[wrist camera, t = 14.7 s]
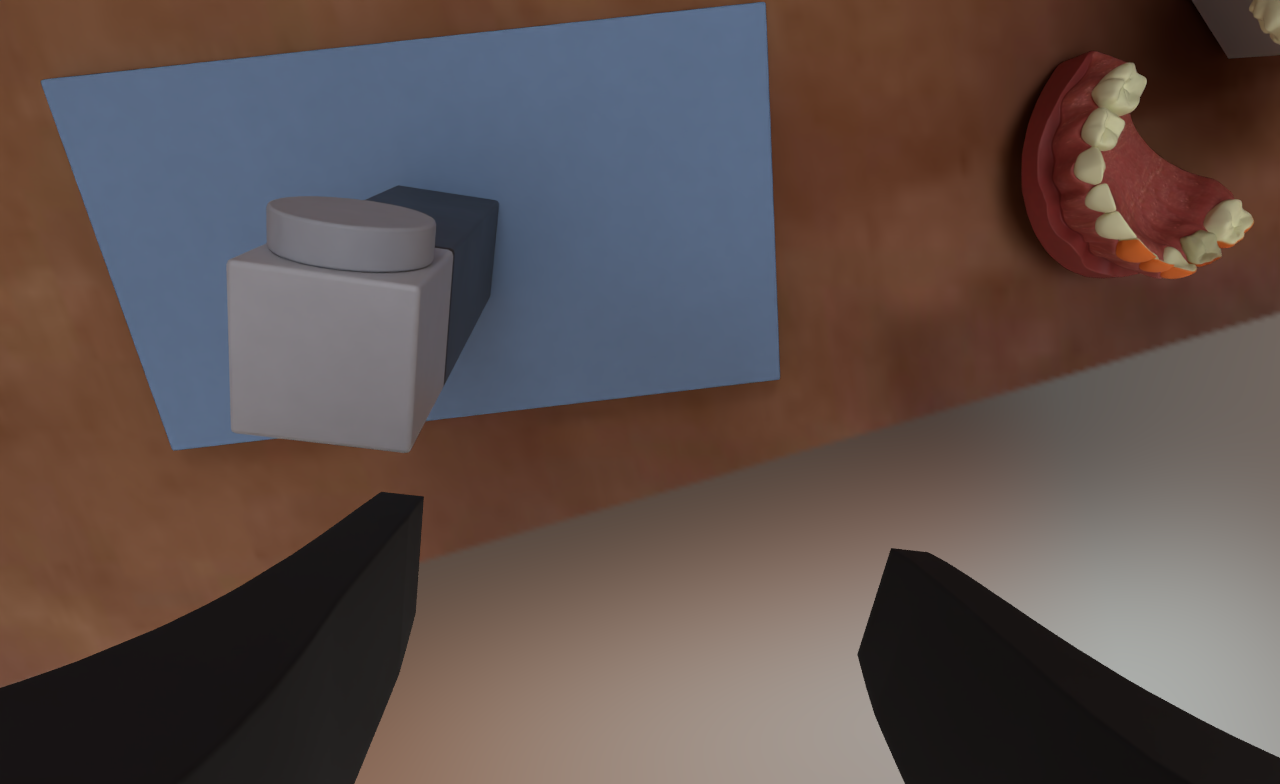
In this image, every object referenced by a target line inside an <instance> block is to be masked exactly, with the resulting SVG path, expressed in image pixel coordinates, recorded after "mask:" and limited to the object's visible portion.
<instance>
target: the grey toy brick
mask: <svg viewBox="0 0 1280 784" xmlns="http://www.w3.org/2000/svg"><path fill="white" fill-rule="evenodd" d="M498 210H499V202H498V201H496V200H491V199H484V198H478V197H471V196H465V195H458V194H452V193H445V192H439V191H432V190H426V189H419V188H413V187H406V186H400V185H398V186H395V187H393V188H391V189H388V190H386V191H384V192H382V193H379V194H377V195H375V196H372V197H370V198H368V199H366V200H358V199H349V198H338V197H320V196H298V197H285V198H279V199H275V200H272V201H270V202H269V203H268V204H267V207H266V228H267V243H266V244H264V245H261V246H259V247H257V248H255V249H252V250H250V251H248V252H245V253H243V254H241V255H239V256H236V257H234V258H232V259H230V260H228V262H227V264H226V271H227V307H228V343H229V379H230V415H231V430H232V432H234V433H238V434H246V435H255V436H264V437H272V438H281V439H290V440H298V441H307V442H315V443H324V444H333V445H341V446H350V447H358V448H367V449H376V450H384V451H393V452H401V453H406V452H410V450H411V448H412V446H413V445H414V443H415V441H416V439H417V437H418V435H419V433H420V431H421V429H422V427H423V425H424V423H425V421H426V419H427V417H428V415H429V414H430V412H431V410H432V408H433V406H434V404H435V402H436V400H437V398H438V396H439V394H440V392H441V390H442V388H443V387H444V385H445V383H446V381H447V379H448V377H449V375H450V373H451V371H452V370H453V368H454V366H455V364H456V362H457V360H458V358H459V356H460V354H461V352H462V350H463V348H464V346H465V344H466V342H467V340H468V339H469V337H470V335H471V333H472V331H473V329H474V327H475V325H476V323H477V321H478V319H479V317H480V315H481V313H482V311H483V309H484V308H485V306H486V304H487V302H488V300H489V298H490V295H491V284H492V273H493V263H494V252H495V242H496V231H497V220H498Z"/></svg>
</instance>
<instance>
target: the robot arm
mask: <svg viewBox="0 0 1280 784" xmlns="http://www.w3.org/2000/svg"><path fill="white" fill-rule="evenodd" d="M423 500H424V497H422V496H413V495H404V494H395V493H386V492H381V493H379V494H378V495H376V496H375V497H373V498H372V499H370V500H369V501H368V502H366V503H365V504H363V505H362V506H361V507H359V508H358V509H356V510H355V511H354V512H352V513H351V514H349V515H348V516H347V517H345V518H344V519H343V520H341V521H340V522H338V523H337V524H336V525H334V526H333V527H331V528H330V529H329V530H327V531H326V532H325V533H323V534H322V535H320V536H319V537H317V538H316V539H314V540H313V541H311V542H310V543H309V544H307V545H306V546H304V547H303V548H301V549H300V550H298V551H297V552H295V553H294V554H292V555H291V556H289V557H287V558H286V559H284V560H283V561H281V562H279V563H278V564H276V565H274V566H273V567H271V568H270V569H268V570H266V571H265V572H263V573H261V574H260V575H258V576H256V577H255V578H253V579H252V580H250V581H248V582H247V583H245V584H243V585H242V586H240V587H238V588H236V589H235V590H233V591H231V592H229V593H227V594H226V595H224V596H222V597H220V598H218V599H216V600H214V601H212V602H211V603H209V604H207V605H205V606H203V607H201V608H199V609H197V610H195V611H193V612H191V613H188V614H186V615H184V616H182V617H180V618H178V619H176V620H174V621H172V622H170V623H168V624H166V625H164V626H161V627H159V628H157V629H155V630H153V631H150V632H148V633H145V634H143V635H140V636H138V637H135V638H133V639H131V640H128V641H126V642H123V643H121V644H118V645H116V646H113V647H111V648H109V649H106V650H104V651H101V652H99V653H96V654H94V655H92V656H89V657H87V658H84V659H82V660H79V661H77V662H74V663H71V664H69V665H66V666H63V667H61V668H58V669H55V670H52V671H49V672H46V673H43V674H40V675H38V676H35V677H32V678H29V679H26V680H23V681H20V682H17V683H14V684H11V685H8V686H5V687H2V688H0V784H354V783H355V780H356V778H357V776H358V773H359V771H360V768H361V766H362V764H363V761H364V759H365V756H366V754H367V751H368V749H369V747H370V744H371V742H372V739H373V737H374V734H375V732H376V729H377V727H378V725H379V722H380V720H381V717H382V715H383V712H384V710H385V707H386V705H387V703H388V700H389V698H390V695H391V693H392V690H393V687H394V685H395V682H396V680H397V678H398V675H399V672H400V669H401V665H402V661H403V658H404V654H405V651H406V647H407V643H408V640H409V635H410V632H411V628H412V625H413V621H414V617H415V613H416V599H417V585H418V571H419V557H420V542H421V528H422V514H423ZM858 658H859V662H860V666H861V669H862V673H863V677H864V681H865V684H866V688H867V691H868V695H869V698H870V701H871V704H872V707H873V711H874V714H875V716H876V719H877V721H878V724H879V726H880V728H881V731H882V733H883V735H884V737H885V740H886V742H887V744H888V747H889V749H890V751H891V753H892V756H893V758H894V760H895V763H896V765H897V767H898V769H899V771H900V774H901V776H902V778H903V780H904V782H905V784H1280V758H1279V757H1277V756H1275V755H1273V754H1270V753H1268V752H1266V751H1264V750H1262V749H1260V748H1258V747H1255V746H1253V745H1251V744H1249V743H1247V742H1245V741H1242V740H1240V739H1238V738H1236V737H1234V736H1232V735H1230V734H1228V733H1226V732H1224V731H1222V730H1220V729H1218V728H1216V727H1214V726H1212V725H1210V724H1208V723H1206V722H1204V721H1202V720H1200V719H1198V718H1196V717H1195V716H1193V715H1191V714H1189V713H1187V712H1185V711H1183V710H1181V709H1180V708H1178V707H1176V706H1174V705H1172V704H1170V703H1169V702H1167V701H1165V700H1163V699H1161V698H1159V697H1158V696H1156V695H1154V694H1152V693H1150V692H1148V691H1146V690H1145V689H1143V688H1141V687H1139V686H1138V685H1136V684H1134V683H1133V682H1131V681H1129V680H1127V679H1126V678H1124V677H1122V676H1121V675H1119V674H1117V673H1116V672H1114V671H1112V670H1111V669H1109V668H1108V667H1106V666H1104V665H1103V664H1101V663H1100V662H1098V661H1096V660H1095V659H1093V658H1091V657H1090V656H1088V655H1087V654H1085V653H1083V652H1082V651H1080V650H1078V649H1077V648H1075V647H1074V646H1072V645H1071V644H1069V643H1068V642H1066V641H1064V640H1063V639H1062V638H1060V637H1058V636H1057V635H1055V634H1054V633H1052V632H1051V631H1049V630H1048V629H1046V628H1045V627H1043V626H1042V625H1040V624H1039V623H1037V622H1036V621H1034V620H1033V619H1031V618H1030V617H1028V616H1027V615H1025V614H1024V613H1022V612H1021V611H1019V610H1018V609H1017V608H1015V607H1013V606H1012V605H1011V604H1009V603H1008V602H1006V601H1005V600H1003V599H1002V598H1000V597H999V596H997V595H996V594H994V593H993V592H991V591H990V590H988V589H987V588H986V587H984V586H982V585H981V584H980V583H978V582H977V581H975V580H974V579H972V578H970V577H969V576H967V575H966V574H964V573H963V572H961V571H960V570H958V569H957V568H955V567H953V566H952V565H950V564H948V563H947V562H945V561H943V560H942V559H940V558H938V557H936V556H934V555H932V554H930V553H928V552H920V551H911V550H902V549H893V548H891V551H890V553H889V557H888V560H887V563H886V566H885V569H884V572H883V575H882V579H881V582H880V585H879V588H878V592H877V594H876V598H875V601H874V604H873V607H872V610H871V613H870V617H869V620H868V623H867V626H866V629H865V632H864V636H863V639H862V642H861V645H860V648H859V651H858Z"/></svg>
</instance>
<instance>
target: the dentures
mask: <svg viewBox="0 0 1280 784" xmlns="http://www.w3.org/2000/svg"><path fill="white" fill-rule="evenodd" d="M1249 11H1250V12H1252V13H1253V16H1254V17H1255V18H1256V19H1258V21H1259V24H1260V28H1261V30H1262V31H1263V32H1264V33H1270V38H1271V39H1272V40H1273V41H1274V42H1275V43H1277V44H1279V45H1280V0H1253V1H1252V3H1251V5H1250V7H1249ZM1146 83H1147V79H1146V78H1145V77H1144V76H1142V75H1140V74H1138V72H1137V70H1136V68H1135V64H1134V63H1131V62H1129V63H1127V62H1125V61H1122V60H1120V59H1117V58H1114V57H1112V56H1109V55H1106V54H1103V53H1100V52H1097V51H1089V52H1087V53H1084V54H1082V55H1079V56H1077V57H1074V58H1072V59H1069V60H1067V61H1065V62H1062V63H1060V64H1059V65H1058V66H1057V67H1056V69H1055V70H1054V72H1053V73H1052V75H1051V77H1050V78H1049V80H1048V81H1047V83H1046V85H1045V87H1044V88H1043V90H1042V92H1041V94H1040V96H1039V98H1038V100H1037V102H1036V104H1035V107H1034V110H1033V112H1032V115H1031V118H1030V120H1029V123H1028V127H1027V131H1026V136H1025V141H1024V146H1023V152H1022V173H1021V180H1022V194H1023V198H1024V203H1025V208H1026V212H1027V215H1028V217H1029V220H1030V223H1031V226H1032V228H1033V231H1034V233H1035V235H1036V236H1037V238H1038V240H1039V241H1040V243H1041V244H1042V246H1043V247H1044V249H1045V250H1046V251H1047V252H1048V254H1049V255H1050V256H1051V257H1052V258H1053V259H1055V260H1056V261H1057V262H1058V263H1059V264H1061V265H1062V266H1063V267H1065V268H1066V269H1068V270H1070V271H1072V272H1075V273H1077V274H1080V275H1082V276H1085V277H1092V278H1113V277H1125V276H1130V275H1135V274H1140V273H1141V274H1144V275H1146V276H1149V277H1153V278H1167V279H1177V278H1182V277H1185V276H1188V275H1191V274H1193V273H1195V272H1196V270H1197V268H1196V267H1200V266H1204V265H1208V264H1211V263H1212V262H1213V261H1215V260H1217V259H1220V258H1221V257H1222V254H1221V249H1220V248H1228V247H1232V246H1234V245H1235V244H1236V243H1237V242H1239V241H1241V240H1242V239H1243V238H1244V233H1245V232H1247V231H1248V230H1249V229H1250V228H1251V227H1252V226H1253V224H1254V220H1253V218H1252V216H1251V214H1250V213H1248V212H1247V211H1245V210H1243V209H1242V202H1241V201H1240V200H1238V199H1234V197H1233V194H1232V193H1231V192H1230V191H1229V190H1228V189H1227V188H1226V187H1224V186H1223V185H1222V184H1221V183H1219V182H1218V181H1216V180H1214V179H1211V178H1207V177H1202V176H1199V175H1195V174H1192V173H1189V172H1187V171H1185V170H1182V169H1180V168H1178V167H1176V166H1174V165H1172V164H1171V163H1169V162H1167V161H1166V160H1164V159H1163V158H1161V157H1160V156H1159V155H1157V154H1156V153H1155V152H1154V151H1153V150H1152V149H1151V148H1150V147H1149V146H1148V145H1147V144H1146V142H1145V141H1144V140H1143V139H1142V137H1141V136H1140V135H1139V133H1138V132H1137V130H1136V128H1135V126H1134V124H1133V122H1132V119H1131V115H1130V112H1132V111H1133V110H1134V109H1135V108H1136V107H1137V106H1138V104H1139V102H1140V96H1141V94H1142V92H1143V90H1144V88H1145V86H1146Z"/></svg>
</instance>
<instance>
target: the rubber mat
mask: <svg viewBox="0 0 1280 784" xmlns="http://www.w3.org/2000/svg"><path fill="white" fill-rule="evenodd" d="M41 84H42V87H43V90H44V93H45V96H46V98H47V101H48V104H49V107H50V110H51V112H52V115H53V118H54V121H55V123H56V126H57V129H58V132H59V135H60V137H61V140H62V143H63V146H64V149H65V151H66V154H67V157H68V160H69V163H70V165H71V168H72V171H73V174H74V177H75V179H76V182H77V185H78V188H79V191H80V193H81V196H82V199H83V202H84V205H85V207H86V210H87V213H88V216H89V219H90V221H91V224H92V227H93V230H94V232H95V235H96V238H97V241H98V244H99V246H100V249H101V252H102V255H103V258H104V260H105V263H106V266H107V269H108V272H109V274H110V277H111V280H112V283H113V286H114V288H115V291H116V294H117V297H118V300H119V302H120V305H121V308H122V311H123V314H124V316H125V319H126V322H127V325H128V328H129V330H130V333H131V336H132V339H133V341H134V344H135V347H136V350H137V353H138V355H139V358H140V361H141V364H142V367H143V369H144V372H145V375H146V378H147V381H148V383H149V386H150V389H151V392H152V395H153V397H154V400H155V403H156V406H157V409H158V411H159V414H160V417H161V420H162V423H163V425H164V428H165V431H166V434H167V437H168V439H169V442H170V445H171V448H172V450H183V449H192V448H200V447H209V446H217V445H226V444H234V443H243V442H251V441H260V440H268V439H277V438H272V437H264V436H255V435H246V434H238V433H234V432H232V430H231V415H230V379H229V343H228V307H227V271H226V264H227V262H228V260H230V259H232V258H234V257H236V256H239V255H241V254H243V253H245V252H248V251H250V250H252V249H255V248H257V247H259V246H261V245H264V244H266V243H267V228H266V207H267V204H268V203H269V202H270V201H272V200H275V199H279V198H285V197H298V196H320V197H338V198H349V199H358V200H366V199H368V198H370V197H372V196H375V195H377V194H379V193H382V192H384V191H386V190H388V189H391V188H393V187H395V186H398V185H400V186H406V187H413V188H419V189H426V190H432V191H439V192H445V193H452V194H458V195H465V196H471V197H478V198H484V199H491V200H496V201H498V202H499V210H498V220H497V231H496V242H495V252H494V263H493V273H492V284H491V295H490V298H489V300H488V302H487V304H486V306H485V308H484V309H483V311H482V313H481V315H480V317H479V319H478V321H477V323H476V325H475V327H474V329H473V331H472V333H471V335H470V337H469V339H468V340H467V342H466V344H465V346H464V348H463V350H462V352H461V354H460V356H459V358H458V360H457V362H456V364H455V366H454V368H453V370H452V371H451V373H450V375H449V377H448V379H447V381H446V383H445V385H444V387H443V388H442V390H441V392H440V394H439V396H438V398H437V400H436V402H435V404H434V406H433V408H432V410H431V412H430V414H429V415H428V417H427V419H426V421H430V420H439V419H447V418H456V417H464V416H473V415H481V414H490V413H498V412H507V411H515V410H524V409H533V408H541V407H550V406H558V405H567V404H575V403H584V402H592V401H601V400H609V399H618V398H626V397H635V396H643V395H652V394H660V393H669V392H677V391H686V390H694V389H703V388H712V387H720V386H729V385H737V384H746V383H754V382H763V381H771V380H779V379H780V360H779V334H778V308H777V282H776V256H775V230H774V204H773V178H772V152H771V126H770V100H769V74H768V47H767V21H766V4H765V2H757V3H748V4H738V5H729V6H720V7H711V8H701V9H692V10H683V11H674V12H664V13H655V14H646V15H636V16H627V17H618V18H609V19H599V20H590V21H581V22H572V23H562V24H553V25H544V26H534V27H525V28H516V29H507V30H497V31H488V32H479V33H470V34H460V35H451V36H442V37H433V38H423V39H414V40H405V41H395V42H386V43H377V44H368V45H358V46H349V47H340V48H331V49H321V50H312V51H303V52H293V53H284V54H275V55H266V56H256V57H247V58H238V59H229V60H219V61H210V62H201V63H192V64H182V65H173V66H164V67H154V68H145V69H136V70H127V71H117V72H108V73H99V74H90V75H80V76H71V77H62V78H52V79H43V80H42V81H41Z"/></svg>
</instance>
